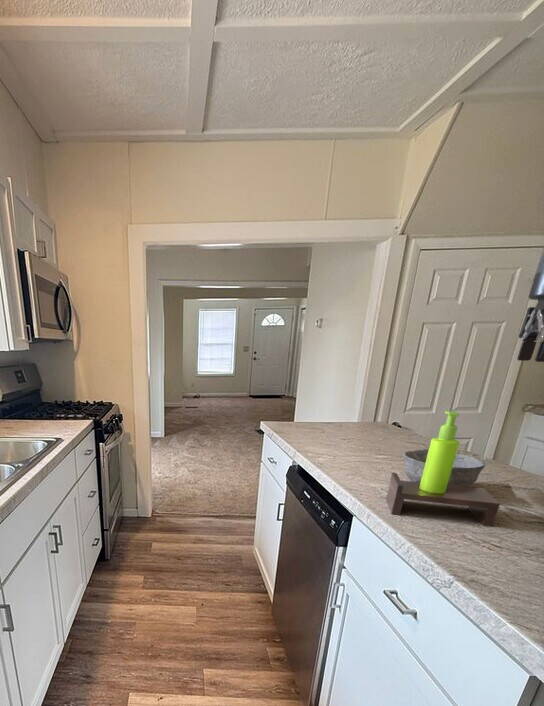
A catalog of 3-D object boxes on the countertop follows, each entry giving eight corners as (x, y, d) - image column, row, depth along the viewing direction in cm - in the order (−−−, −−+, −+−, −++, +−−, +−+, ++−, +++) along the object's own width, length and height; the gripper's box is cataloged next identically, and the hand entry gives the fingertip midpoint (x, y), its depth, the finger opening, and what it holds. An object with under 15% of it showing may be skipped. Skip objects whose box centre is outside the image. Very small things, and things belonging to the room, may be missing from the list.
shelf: (476, 509, 108) (486, 481, 105) (492, 526, 98) (502, 495, 95) (385, 499, 116) (391, 472, 113) (391, 514, 106) (398, 485, 102)
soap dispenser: (442, 486, 108) (463, 410, 100) (447, 494, 102) (470, 414, 94) (417, 483, 110) (436, 409, 102) (420, 491, 104) (440, 413, 96)
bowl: (479, 506, 110) (490, 471, 107) (394, 493, 120) (402, 460, 117) (472, 485, 127) (482, 454, 123) (398, 475, 137) (405, 446, 133)
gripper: (610, 261, 69) (573, 362, 75) (568, 274, 81) (539, 360, 87) (555, 265, 71) (523, 362, 77) (522, 276, 83) (497, 359, 90)
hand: (532, 361), depth 82 cm, fingers open, 8 cm apart
